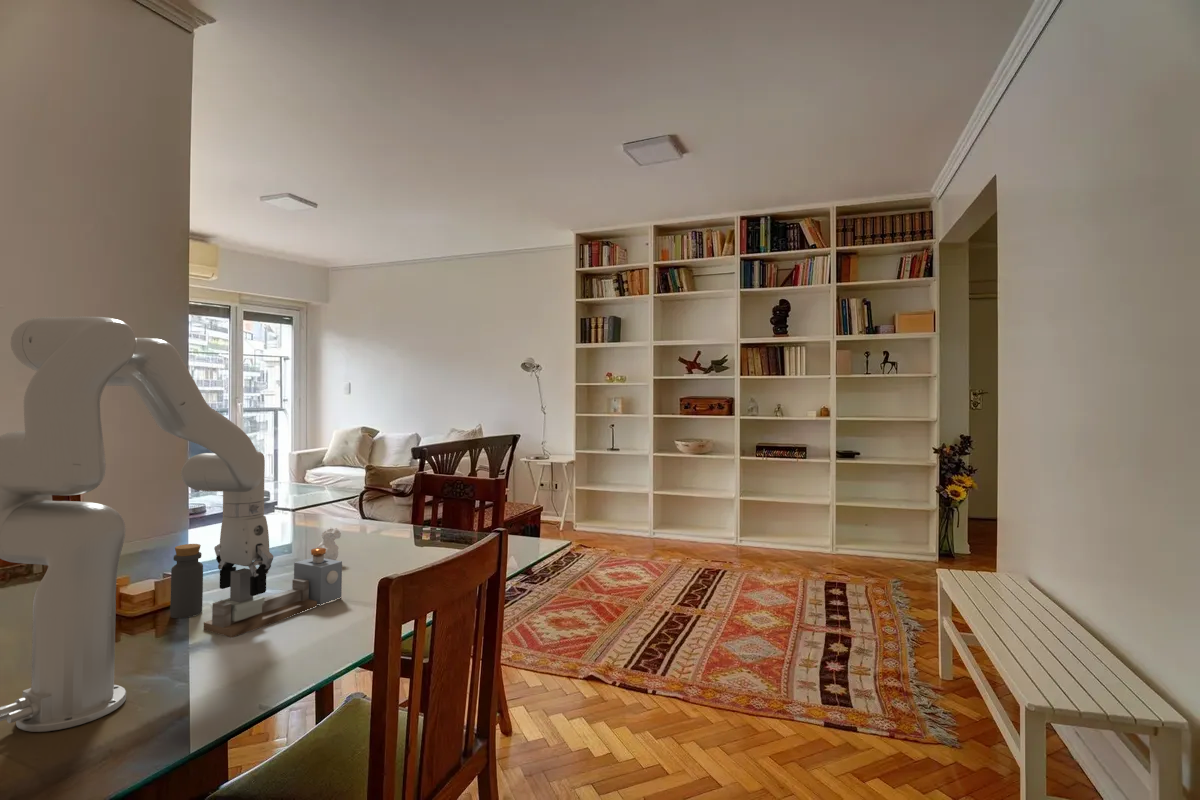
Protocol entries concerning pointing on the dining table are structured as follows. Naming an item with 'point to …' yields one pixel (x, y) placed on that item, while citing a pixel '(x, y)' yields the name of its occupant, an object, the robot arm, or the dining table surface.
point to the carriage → (243, 596)
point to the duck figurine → (330, 543)
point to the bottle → (186, 582)
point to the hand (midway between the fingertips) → (242, 590)
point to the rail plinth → (261, 619)
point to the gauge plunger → (318, 555)
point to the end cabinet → (321, 578)
